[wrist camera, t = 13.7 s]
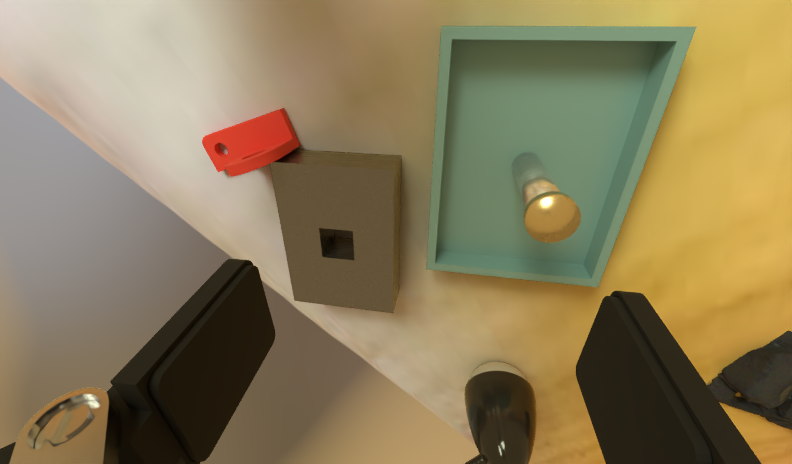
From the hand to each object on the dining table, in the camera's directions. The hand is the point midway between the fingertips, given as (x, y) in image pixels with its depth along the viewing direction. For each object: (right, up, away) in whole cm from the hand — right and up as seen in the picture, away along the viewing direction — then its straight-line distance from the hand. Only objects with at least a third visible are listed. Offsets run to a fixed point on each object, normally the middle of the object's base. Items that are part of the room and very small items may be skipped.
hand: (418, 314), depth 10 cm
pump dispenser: (+16, -20, +46) cm, 53 cm away
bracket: (-19, +14, +33) cm, 41 cm away
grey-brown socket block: (-7, +3, +37) cm, 38 cm away
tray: (+14, +10, +29) cm, 33 cm away
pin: (+14, +10, +28) cm, 32 cm away
